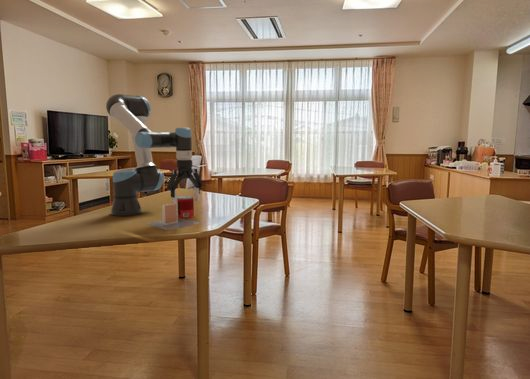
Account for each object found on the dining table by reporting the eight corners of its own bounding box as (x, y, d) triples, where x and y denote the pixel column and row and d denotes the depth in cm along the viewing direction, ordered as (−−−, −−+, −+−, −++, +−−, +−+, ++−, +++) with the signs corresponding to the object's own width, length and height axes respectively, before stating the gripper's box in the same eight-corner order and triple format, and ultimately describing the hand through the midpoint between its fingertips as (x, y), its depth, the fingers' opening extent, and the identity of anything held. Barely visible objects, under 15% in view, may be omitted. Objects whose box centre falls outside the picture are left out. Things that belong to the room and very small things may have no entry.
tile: (162, 224, 166) (162, 204, 165) (175, 221, 171) (175, 202, 170) (164, 225, 165) (164, 205, 164) (177, 222, 170) (177, 203, 169)
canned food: (197, 218, 186) (196, 196, 185) (185, 220, 179) (184, 198, 178) (186, 216, 190) (185, 195, 189) (174, 218, 184) (173, 197, 182)
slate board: (145, 226, 168) (144, 223, 167) (177, 220, 181) (177, 217, 181) (168, 233, 156) (168, 230, 156) (201, 225, 170) (201, 223, 169)
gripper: (167, 160, 169) (169, 206, 172) (208, 158, 188) (210, 199, 191) (158, 160, 174) (160, 204, 176) (199, 158, 193) (200, 198, 195)
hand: (186, 202), depth 184 cm, fingers open, 13 cm apart
